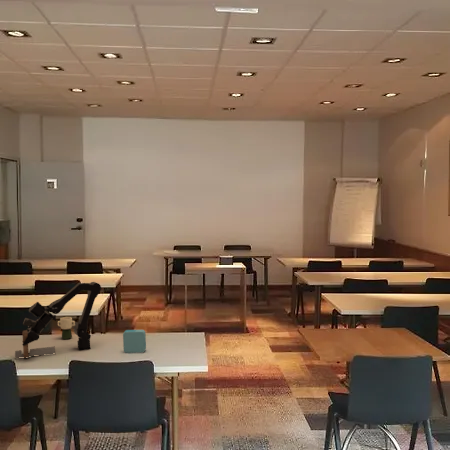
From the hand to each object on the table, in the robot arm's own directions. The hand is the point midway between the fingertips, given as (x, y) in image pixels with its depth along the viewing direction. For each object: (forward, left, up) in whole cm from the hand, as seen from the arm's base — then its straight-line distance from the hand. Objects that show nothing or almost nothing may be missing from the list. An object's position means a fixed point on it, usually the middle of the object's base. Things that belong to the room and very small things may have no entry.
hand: (22, 343), depth 300 cm
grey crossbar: (-6, 0, -8) cm, 10 cm away
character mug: (-25, -32, -8) cm, 42 cm away
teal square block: (-59, +15, -8) cm, 62 cm away
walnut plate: (-1, 0, -8) cm, 8 cm away
